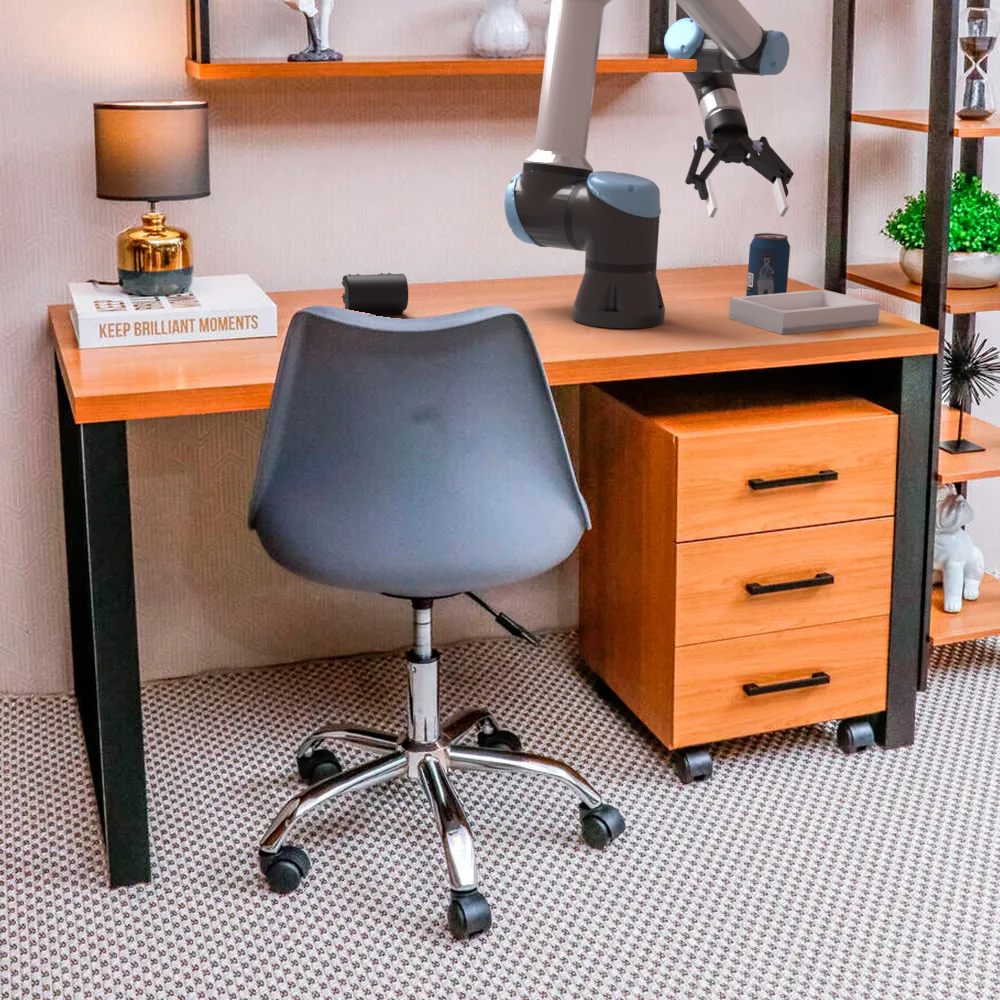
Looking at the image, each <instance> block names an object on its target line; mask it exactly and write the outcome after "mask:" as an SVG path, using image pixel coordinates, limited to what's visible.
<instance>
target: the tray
mask: <svg viewBox="0 0 1000 1000" xmlns="http://www.w3.org/2000/svg"><path fill="white" fill-rule="evenodd" d="M880 306H881V303H879V302H874V301H870V300H867V299H863V298H859V297H855V296H852V295H847V294H843V293H839V292H835V291H831V290H828V289H813V290H802V291H801V290H800V291H791V292H786V293H777V294H766V295H754V296H746V295H745V296H734V297H733V296H731V297H730V298H729V308H728V320H729V319H730V320H733V321H736V322H740V323H743V324H746V325H750V326H752V327H756V328H759V329H761V330H766V331H769V332H772V333H776V334H779V335H790V334H799V333H800V334H801V333H802V334H803V333H811V332H821V331H828V330H829V331H830V330H839V329H848V328H858V327H868V326H878V325H879V317H880V310H881V309H880V308H881V307H880Z"/></svg>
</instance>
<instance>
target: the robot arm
mask: <svg viewBox="0 0 1000 1000" xmlns="http://www.w3.org/2000/svg"><path fill="white" fill-rule="evenodd" d="M611 1H612V0H550V2H551V3H550V4H551V5H550V13H549V21H548V30H547V38H546V46H545V55H544V65H543V71H542V81H541V87H540V88H541V91H540V97H539V98H540V99H539V108H538V114H537V116H538V117H537V122H536V132H535V133H536V134H535V142H534V150H533V152H532V153H531V154H530V155H529V156H528V157H526V158H525V159H524V160H523V163H522V164H523V165H522V172H519V173H518V174H515V175H514V176H513V177H512V178H511V180H510V183H509V184H507V186H506V189H505V194H504V203H503V204H504V214H505V219H506V222H507V225H508V227H509V228H510V229H511V232H512V234H513V235H514V236H515V237H516V239H518V241H519V240H520V241H521V242H523V243H525V244H528V245H529V244H530V245H535V246H537V247H540V248H555V249H563V250H571V251H579V252H585V259H584V260H585V261H584V273H583V276H582V280H581V281H580V285H579V288H578V290H577V293H576V296H575V298H574V299H575V300H574V302H573V306H572V320H574V321H575V322H577V323H580V324H582V325H586V326H592V327H597V328H598V327H599V328H607V329H608V328H609V329H610V328H611V329H642V328H643V329H644V328H650V327H657V326H660V325H663V323H664V322H665V317H666V311H665V310H666V307H665V304H664V299H663V296H662V292H661V288H660V285H659V281H658V275H657V267H658V266H657V264H658V263H657V262H658V249H659V231H660V215H661V213H662V209H661V193H660V192H661V191H660V188H659V186H658V185H657V184H656V182H654V181H653V180H651V179H649V178H646V177H644V176H639V175H636V174H631V173H627V172H626V173H625V172H617V171H610V170H609V171H608V170H599V171H598V170H597V171H594V168H593V167H592V165H591V164H590V162H589V161H588V160H587V157H586V155H587V149H588V140H589V132H590V131H589V130H590V123H591V116H592V108H593V100H594V93H595V92H594V91H595V82H596V75H597V66H598V57H599V50H600V44H601V43H600V41H601V35H602V34H601V33H602V26H603V17H604V11H605V10H604V9H605V7H606V6H607V5H608V4H609V3H610V2H611ZM674 1H675V2H676V3H677V4H678V5H679V7H680V8H681V9H682V10H683V11H684V12H685V13H686V14H687V16H689V17H684V18H681V19H678V20H676V21H675V22H674V23H672V24H671V26H669V28H668V29H667V31H666V33H665V34H664V39H663V40H664V41H663V42H664V43H663V44H664V49H665V50H666V52H667V54H668V55H669V57H670V59H671V58H681V59H696V60H697V70H696V71H695V72H681V73H682V75H684V77H685V78H686V81H688V83H689V84H690V86H691V87H692V89H693V91H694V93H695V98H696V100H697V103H698V108H699V112H700V116H701V120H702V123H703V126H704V131H705V135H706V138H707V139H704V137H703V136H701V135H698V136H697V137H696V139H695V141H694V143H693V147H692V149H693V157H692V160H691V163H690V164H689V165H690V167H689V169H688V173H687V174H686V178H685V181H684V182H685V184H687V185H688V186H689V185H691V184H693V185H694V186H693V189H694V190H696V191H697V192H698V195H699V199H700V200H701V201H704V202H705V206H706V209H707V214H708V217H709V218H714V217H715V215H716V213H717V211H718V209H719V207H718V202H717V200H716V195H715V192H714V189H713V184H712V180H711V178H709V177H710V176H711V174H712V173H713V171H714V170H715V168H716V167H717V166H718V165H719V164H720V163H721V162H724V164H731V163H733V164H741V163H743V164H744V165H745V166H746V167H750V168H752V169H753V170H755V171H756V172H757V173H758V174H760V175H761V176H762V177H764V178H765V179H766V180H767V181H768V182H770V183H771V184H772V187H771V190H772V194H773V197H774V201H775V205H776V208H777V211H778V215H779V217H781V218H782V217H785V215H786V214H787V211H788V210H789V208H790V206H789V203H788V200H787V198H788V196H789V190H788V185H789V184H790V182H791V180H792V178H793V176H794V174H795V173H794V171H793V170H792V169H791V168H790V167H789V166H788V164H786V163H785V161H784V160H783V159H782V157H780V156H779V155H778V153H776V151H775V150H774V149H773V148H772V147H771V145H770V143H769V141H768V139H767V137H766V136H760V138H759V139H756V140H755V139H754V140H753V139H752V138H751V137H750V135H749V128H748V124H747V122H746V118H745V115H744V111H743V107H742V104H741V101H740V98H739V93H738V91H737V87H736V83H735V80H734V76H733V75H746V76H747V75H749V76H760V77H763V76H776V75H777V76H778V75H779V74H781V73H783V71H784V70H785V69H786V67H787V64H788V61H789V57H790V43H789V42H790V41H789V39H788V36H787V35H786V34H785V33H784V32H783V31H777V30H773V29H769V30H765V29H764V28H763V27H762V26H761V25H760V23H759V22H758V21H757V20H756V18H754V16H753V15H752V14H751V13H750V11H748V9H747V8H746V7H745V6H744V5H743V3H742V2H741V1H740V0H674ZM707 149H708V150H709V151H710V152H711V153H712V154H713V155H712V157H711V158H710V160H709V161H708V163H706V165H705V167H704V168H703V169H702V171H701V172H700V173H699V174H698V173H697V171H698V168H699V165H700V162H701V159H702V155H703V153H704V152H706V150H707ZM748 155H749V157H748Z"/></svg>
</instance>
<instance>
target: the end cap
mask: <svg viewBox="0 0 1000 1000" xmlns="http://www.w3.org/2000/svg"><path fill="white" fill-rule="evenodd" d="M341 284H342V286H343V288H344V293H343V294H342V296H341V298H342V302H343V304H344V308H345V309H349V310H354V311H359V312H365V313H370V314H376V315H375V316H384V315H385V316H386V315H403V313H404V312H405V311H406V310H407V308H408V304H409V285H408V281H407V276H406V274H404V273H391V272H388V273H383V272H381V273H378V274H359V273H356V274H350V273H349V274H345V275H343V277H342V282H341Z"/></svg>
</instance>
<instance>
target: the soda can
mask: <svg viewBox="0 0 1000 1000" xmlns="http://www.w3.org/2000/svg"><path fill="white" fill-rule="evenodd" d="M753 237H754V238H753V239H752V241H751V242H750V244H749V252H748V253H749V254H748V267H747V280H746V289H745V290H746V291H745V292H746V293H745V296H754V295H766V294H777V293H788V291H787V289H788V281H789V277H788V276H789V268H790V267H789V266H790V265H789V264H790V255H791V254H790V253H791V245H790V243H789V241H788V238H789V237H788V235H785V234H781V233H772V232H764V233H762V232H761V233H755V234H754V235H753Z"/></svg>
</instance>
